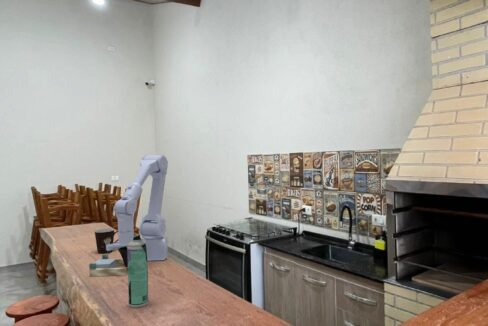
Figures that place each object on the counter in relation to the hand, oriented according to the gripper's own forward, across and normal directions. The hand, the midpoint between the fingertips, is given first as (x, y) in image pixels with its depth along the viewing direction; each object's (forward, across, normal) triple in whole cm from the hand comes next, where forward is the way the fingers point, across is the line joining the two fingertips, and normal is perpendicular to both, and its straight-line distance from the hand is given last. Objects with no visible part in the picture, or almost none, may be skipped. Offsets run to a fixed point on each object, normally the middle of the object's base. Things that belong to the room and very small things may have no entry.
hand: (127, 266), depth 135 cm
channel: (+1, +4, -3) cm, 5 cm away
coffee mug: (+2, -3, -34) cm, 34 cm away
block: (+2, +7, -6) cm, 9 cm away
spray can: (+2, +9, +35) cm, 36 cm away
